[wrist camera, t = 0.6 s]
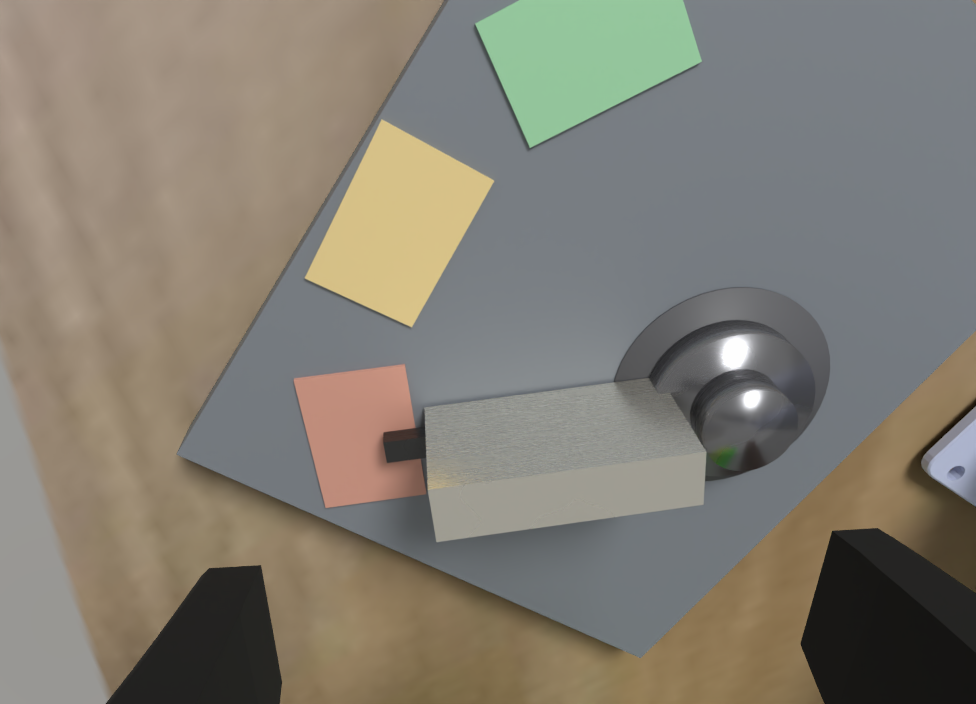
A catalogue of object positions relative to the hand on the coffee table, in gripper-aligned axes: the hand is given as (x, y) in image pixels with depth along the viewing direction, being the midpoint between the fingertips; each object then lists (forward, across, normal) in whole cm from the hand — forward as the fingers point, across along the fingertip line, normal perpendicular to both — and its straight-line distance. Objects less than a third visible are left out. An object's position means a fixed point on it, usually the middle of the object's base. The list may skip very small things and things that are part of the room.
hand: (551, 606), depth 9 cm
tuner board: (+10, -4, 0) cm, 11 cm away
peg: (+9, -3, +3) cm, 9 cm away
